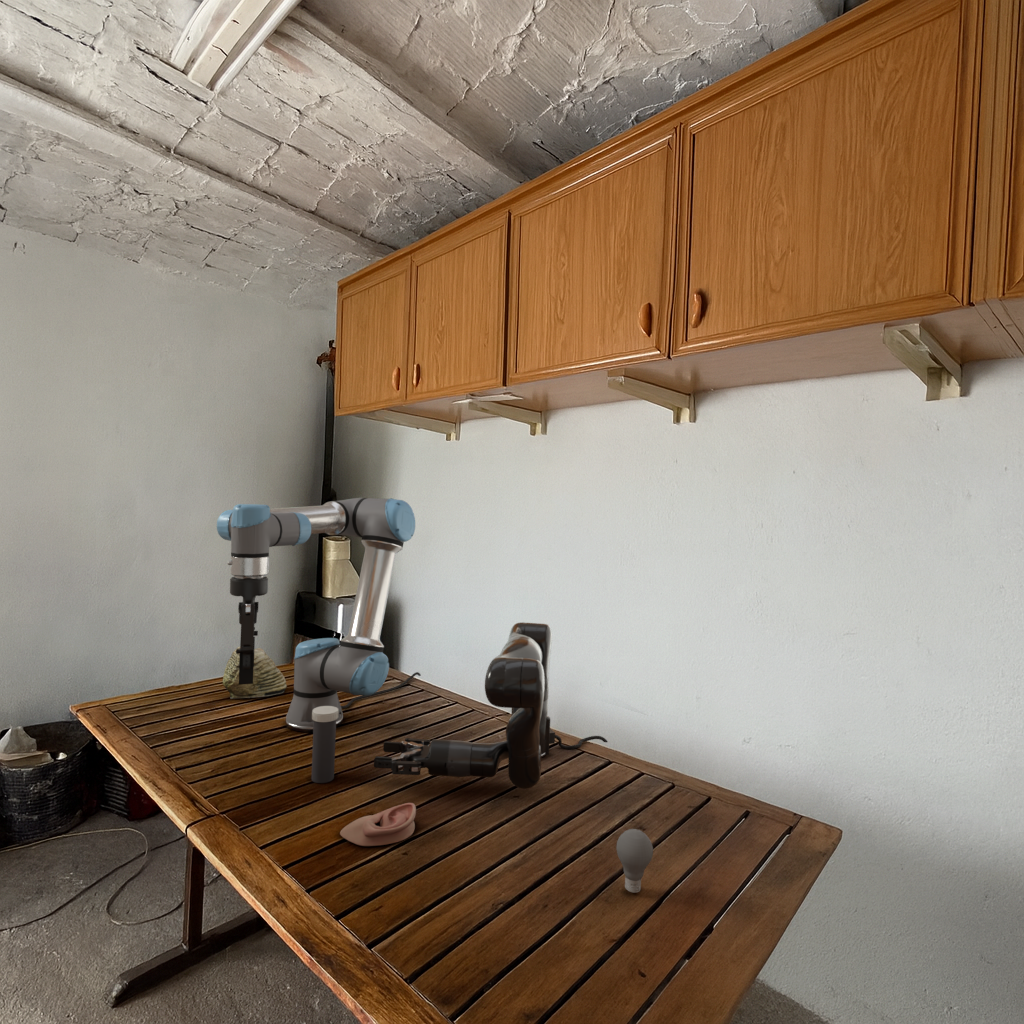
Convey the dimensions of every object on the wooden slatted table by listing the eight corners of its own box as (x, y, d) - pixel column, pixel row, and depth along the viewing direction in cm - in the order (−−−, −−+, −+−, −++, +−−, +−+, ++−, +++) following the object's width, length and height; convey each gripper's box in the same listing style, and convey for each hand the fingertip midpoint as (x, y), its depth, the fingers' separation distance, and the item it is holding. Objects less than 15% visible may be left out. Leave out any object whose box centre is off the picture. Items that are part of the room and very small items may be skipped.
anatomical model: (332, 820, 116) (360, 792, 128) (332, 841, 116) (359, 811, 128) (400, 830, 114) (422, 801, 125) (400, 852, 114) (421, 821, 125)
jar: (318, 772, 145) (320, 707, 145) (337, 775, 144) (340, 709, 144) (307, 781, 141) (309, 714, 140) (327, 784, 140) (329, 716, 139)
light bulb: (610, 879, 108) (613, 822, 108) (644, 879, 109) (647, 822, 109) (619, 902, 102) (622, 840, 102) (655, 901, 103) (658, 840, 103)
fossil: (218, 695, 195) (220, 647, 195) (278, 685, 208) (279, 640, 207) (228, 703, 189) (230, 653, 188) (289, 692, 201) (290, 645, 201)
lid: (319, 712, 146) (320, 704, 146) (342, 715, 144) (343, 707, 144) (306, 720, 140) (307, 712, 140) (330, 723, 139) (330, 715, 139)
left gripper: (232, 568, 146) (230, 660, 146) (227, 585, 123) (224, 693, 123) (267, 568, 149) (265, 658, 149) (268, 584, 125) (265, 690, 126)
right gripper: (455, 729, 148) (387, 726, 149) (447, 754, 134) (371, 749, 134) (454, 761, 148) (385, 757, 149) (446, 789, 134) (370, 784, 134)
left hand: (246, 674), depth 136 cm, fingers open, 13 cm apart
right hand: (379, 754), depth 141 cm, fingers open, 8 cm apart
